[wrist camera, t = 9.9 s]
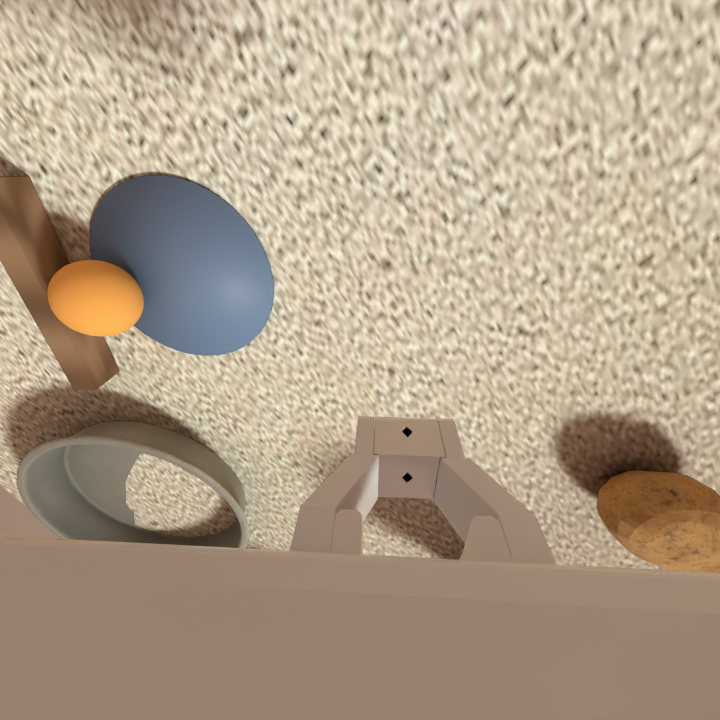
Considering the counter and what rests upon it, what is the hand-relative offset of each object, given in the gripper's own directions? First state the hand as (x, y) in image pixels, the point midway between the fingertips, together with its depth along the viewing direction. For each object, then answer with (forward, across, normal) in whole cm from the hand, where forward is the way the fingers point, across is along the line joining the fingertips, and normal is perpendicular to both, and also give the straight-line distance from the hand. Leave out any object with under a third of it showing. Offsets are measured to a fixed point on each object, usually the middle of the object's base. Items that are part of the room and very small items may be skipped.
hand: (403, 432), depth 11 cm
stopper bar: (+17, +26, +1) cm, 31 cm away
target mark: (+17, +16, 0) cm, 23 cm away
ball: (+14, +21, +1) cm, 25 cm away
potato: (+17, -27, +22) cm, 39 cm away
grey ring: (+17, +27, +26) cm, 41 cm away
